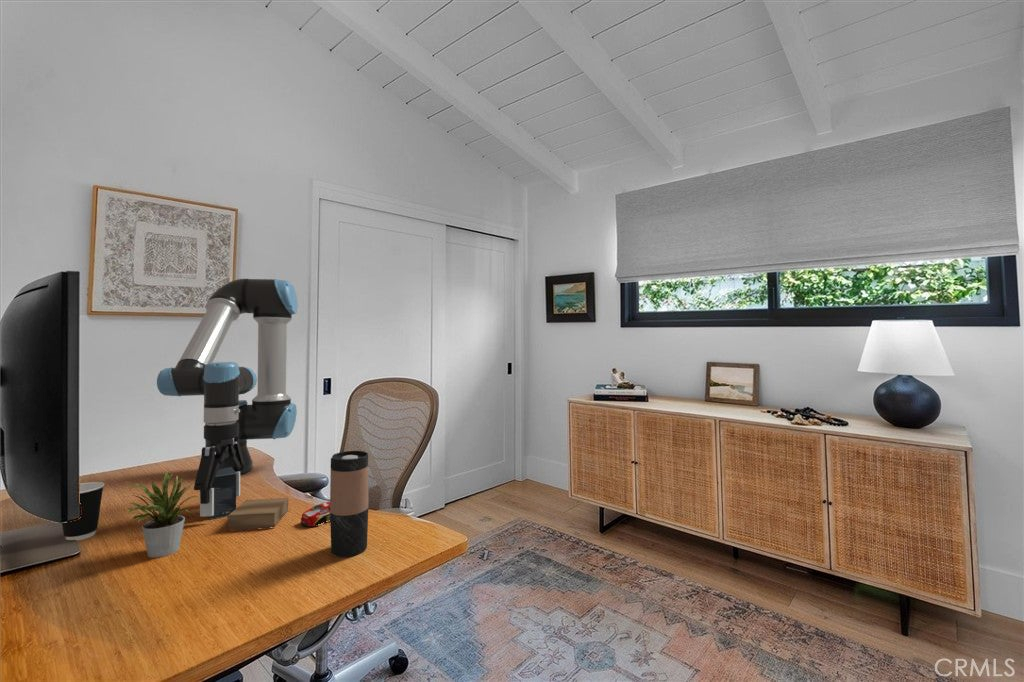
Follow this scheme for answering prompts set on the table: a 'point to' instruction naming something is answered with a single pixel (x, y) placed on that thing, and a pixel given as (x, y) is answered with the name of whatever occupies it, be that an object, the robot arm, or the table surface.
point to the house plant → (162, 518)
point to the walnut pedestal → (258, 514)
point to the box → (224, 492)
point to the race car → (316, 514)
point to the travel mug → (349, 503)
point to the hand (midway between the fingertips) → (221, 505)
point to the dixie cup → (86, 512)
